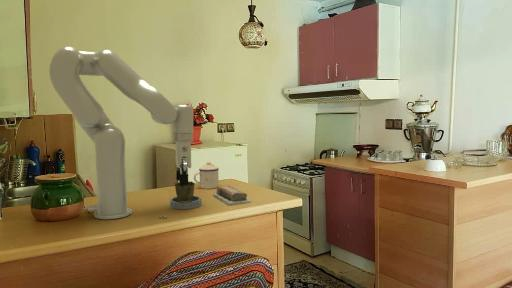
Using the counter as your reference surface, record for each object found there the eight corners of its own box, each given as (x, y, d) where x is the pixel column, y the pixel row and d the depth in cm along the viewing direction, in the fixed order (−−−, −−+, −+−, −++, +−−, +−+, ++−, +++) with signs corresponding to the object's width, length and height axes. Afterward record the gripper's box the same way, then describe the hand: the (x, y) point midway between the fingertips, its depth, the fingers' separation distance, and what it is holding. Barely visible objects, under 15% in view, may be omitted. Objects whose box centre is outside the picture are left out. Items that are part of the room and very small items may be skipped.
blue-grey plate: (171, 210, 144) (171, 204, 144) (168, 203, 156) (168, 196, 155) (204, 207, 148) (203, 201, 147) (199, 200, 159) (198, 194, 159)
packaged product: (212, 185, 166) (233, 183, 170) (212, 197, 166) (234, 194, 171) (228, 194, 150) (252, 191, 154) (228, 207, 150) (252, 203, 155)
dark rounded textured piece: (197, 200, 155) (196, 180, 154) (192, 206, 148) (191, 185, 147) (178, 200, 156) (178, 180, 155) (173, 205, 148) (172, 184, 147)
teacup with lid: (214, 184, 190) (213, 160, 189) (222, 187, 182) (221, 162, 181) (190, 187, 184) (190, 162, 183) (197, 190, 176) (197, 165, 175)
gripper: (196, 139, 142) (195, 186, 143) (189, 136, 158) (189, 178, 160) (175, 139, 139) (174, 187, 141) (170, 135, 156) (170, 178, 157)
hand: (182, 182), depth 150 cm, fingers open, 9 cm apart
